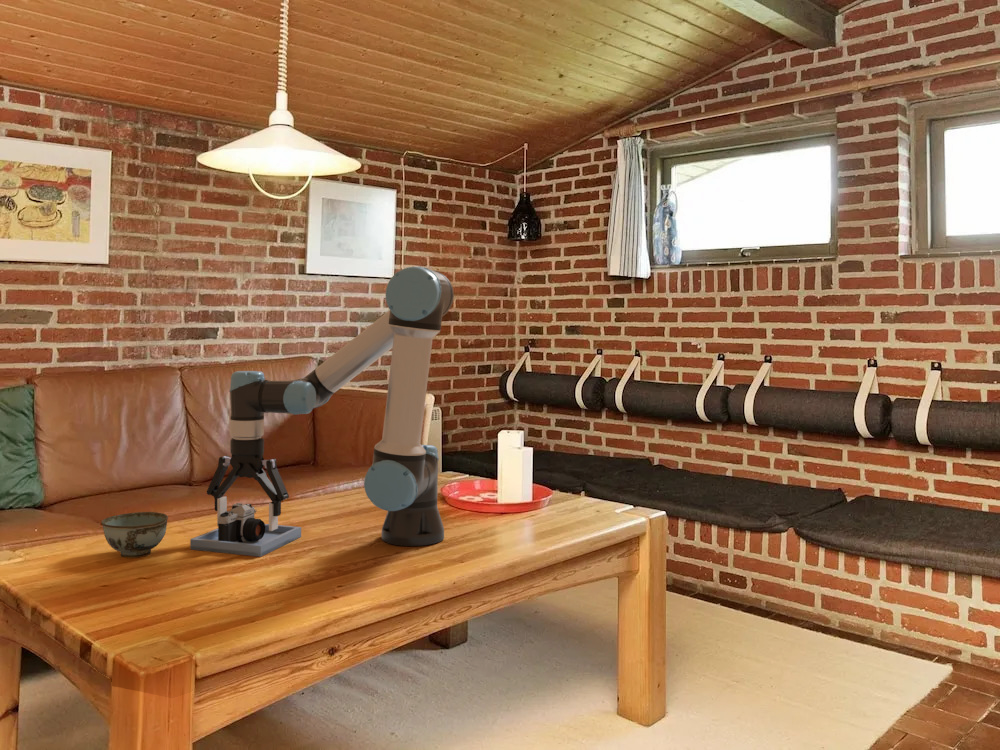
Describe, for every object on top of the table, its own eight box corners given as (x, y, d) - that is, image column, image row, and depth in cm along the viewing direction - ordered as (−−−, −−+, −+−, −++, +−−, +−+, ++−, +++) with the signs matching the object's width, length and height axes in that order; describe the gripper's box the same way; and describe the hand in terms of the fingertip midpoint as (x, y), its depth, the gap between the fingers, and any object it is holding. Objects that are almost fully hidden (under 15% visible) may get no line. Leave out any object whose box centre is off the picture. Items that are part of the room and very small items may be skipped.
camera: (244, 549, 185) (246, 509, 185) (213, 546, 187) (215, 506, 187) (272, 539, 198) (274, 502, 198) (243, 536, 200) (245, 499, 200)
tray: (301, 536, 200) (301, 527, 200) (260, 556, 183) (260, 546, 183) (235, 530, 205) (235, 521, 205) (190, 549, 188) (190, 539, 187)
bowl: (182, 549, 188) (181, 514, 187) (138, 565, 175) (137, 528, 174) (134, 543, 192) (133, 509, 192) (87, 558, 179) (87, 522, 179)
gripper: (303, 438, 193) (303, 527, 194) (210, 432, 199) (210, 519, 201) (287, 442, 185) (287, 535, 187) (190, 436, 192) (191, 526, 193)
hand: (247, 527), depth 194 cm, fingers open, 13 cm apart
